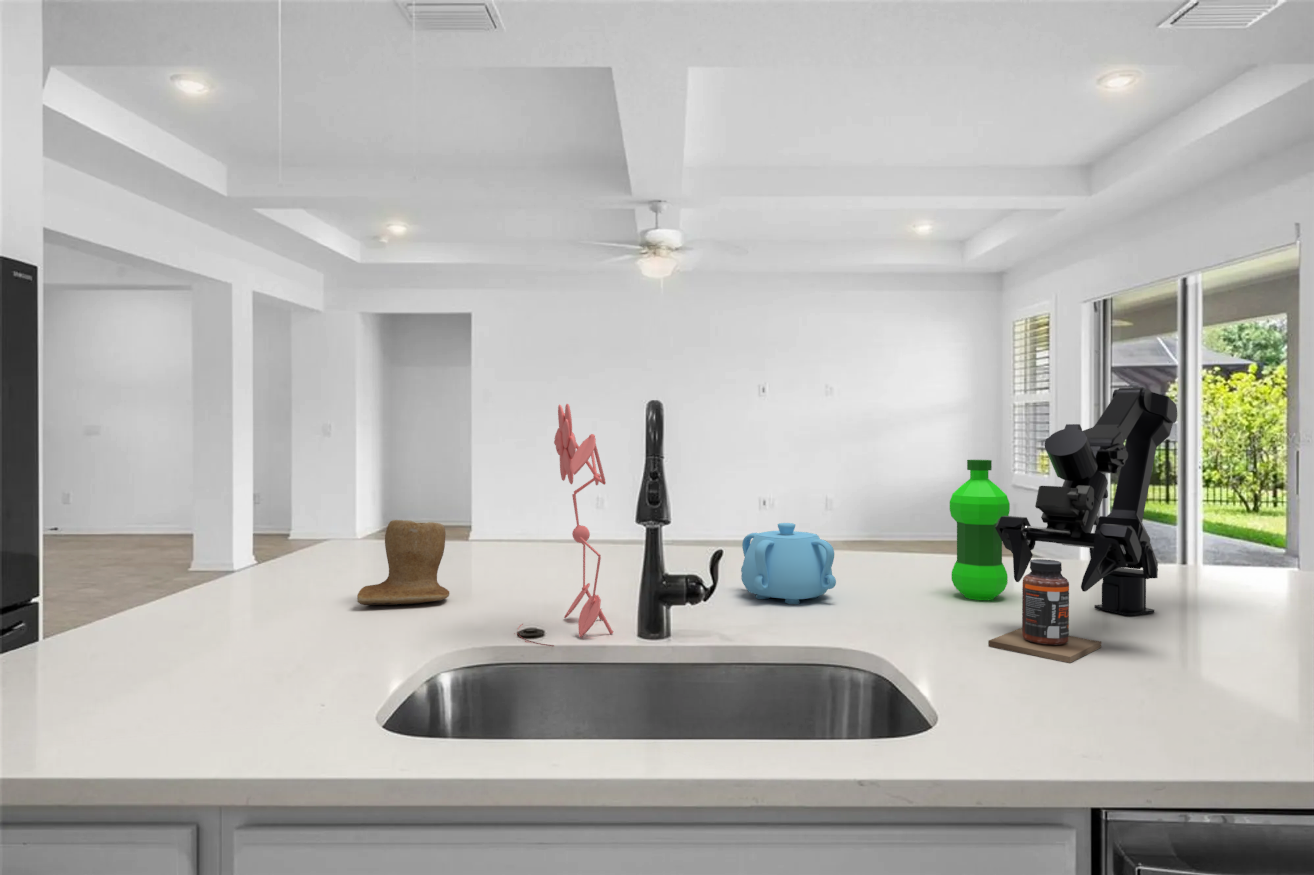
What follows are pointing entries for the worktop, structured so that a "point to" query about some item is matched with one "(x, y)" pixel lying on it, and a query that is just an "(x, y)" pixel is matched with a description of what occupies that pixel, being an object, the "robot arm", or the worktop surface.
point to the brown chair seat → (409, 565)
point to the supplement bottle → (1045, 603)
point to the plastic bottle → (979, 534)
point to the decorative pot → (787, 564)
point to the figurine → (568, 466)
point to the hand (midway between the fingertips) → (1048, 584)
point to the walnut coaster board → (1046, 646)
